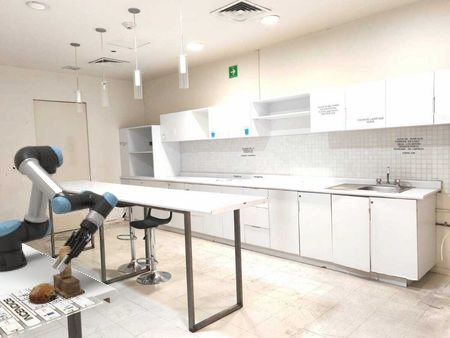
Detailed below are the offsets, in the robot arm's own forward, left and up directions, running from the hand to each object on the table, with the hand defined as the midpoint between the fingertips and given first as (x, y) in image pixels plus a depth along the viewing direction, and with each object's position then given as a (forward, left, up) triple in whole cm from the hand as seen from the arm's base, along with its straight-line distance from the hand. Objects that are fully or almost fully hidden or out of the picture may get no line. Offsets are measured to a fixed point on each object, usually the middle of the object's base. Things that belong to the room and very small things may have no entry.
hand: (56, 269), depth 144 cm
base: (0, +4, -11) cm, 11 cm away
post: (0, +4, -4) cm, 5 cm away
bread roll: (0, -6, -11) cm, 12 cm away
